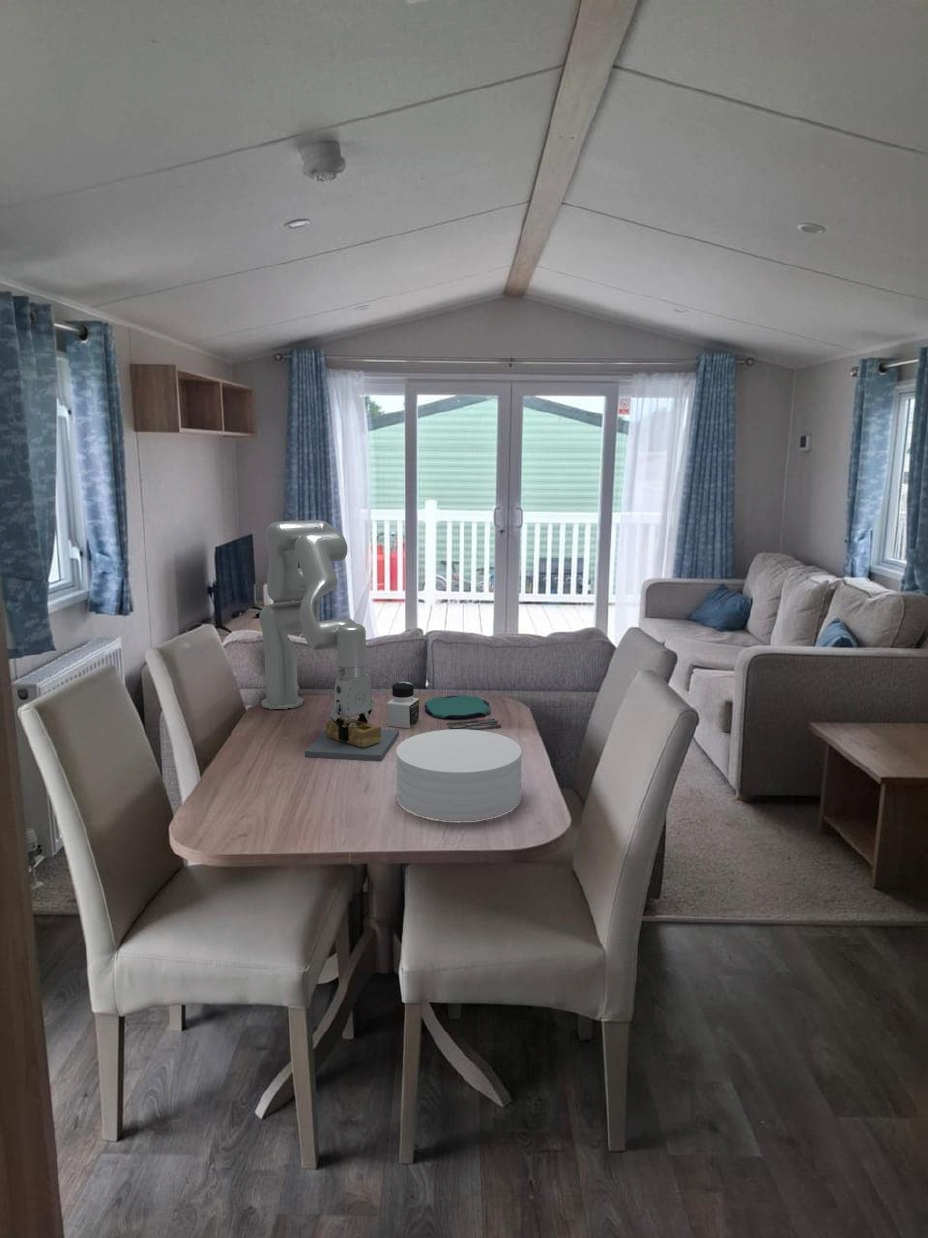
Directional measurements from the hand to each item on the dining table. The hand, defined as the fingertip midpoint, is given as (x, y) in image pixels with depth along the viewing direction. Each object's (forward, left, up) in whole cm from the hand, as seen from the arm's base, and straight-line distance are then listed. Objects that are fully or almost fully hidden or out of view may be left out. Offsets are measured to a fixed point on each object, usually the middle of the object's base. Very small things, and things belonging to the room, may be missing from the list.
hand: (353, 736), depth 224 cm
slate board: (0, 0, -3) cm, 3 cm away
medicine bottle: (-20, +9, -3) cm, 22 cm away
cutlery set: (-31, +24, -3) cm, 39 cm away
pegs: (0, 0, -1) cm, 1 cm away
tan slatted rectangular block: (0, 0, -1) cm, 1 cm away
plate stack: (+29, +33, -3) cm, 44 cm away
